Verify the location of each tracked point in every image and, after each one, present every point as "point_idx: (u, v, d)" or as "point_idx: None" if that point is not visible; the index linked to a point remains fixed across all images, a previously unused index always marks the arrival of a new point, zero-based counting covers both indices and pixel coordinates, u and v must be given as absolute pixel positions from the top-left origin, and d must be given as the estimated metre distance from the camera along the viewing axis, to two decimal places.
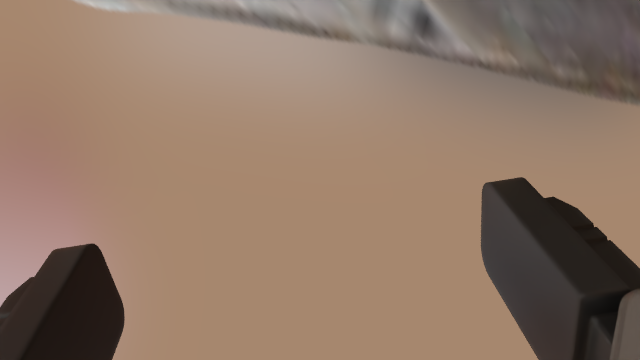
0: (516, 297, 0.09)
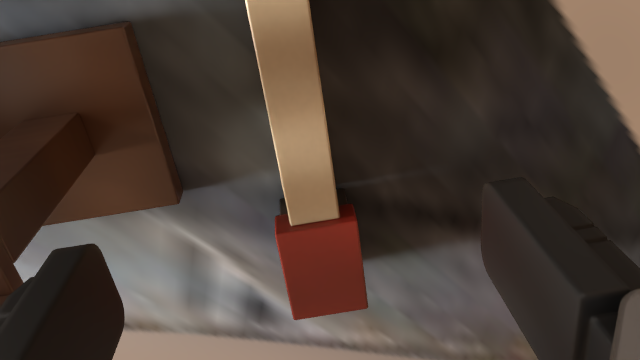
0: (516, 297, 0.09)
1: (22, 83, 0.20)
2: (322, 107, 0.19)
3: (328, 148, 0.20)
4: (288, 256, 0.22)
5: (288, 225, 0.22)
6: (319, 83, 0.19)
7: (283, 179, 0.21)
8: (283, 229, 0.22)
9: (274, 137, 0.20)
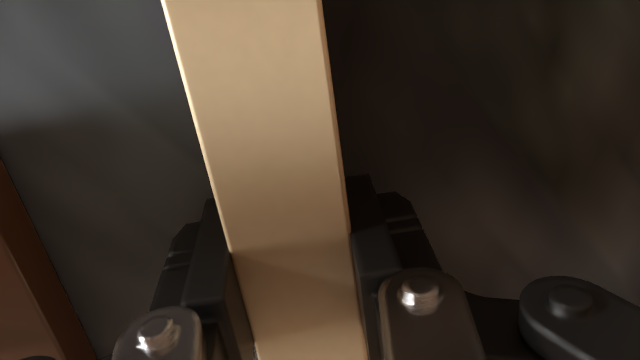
0: None
1: None
2: (358, 316, 0.10)
3: None
4: None
5: None
6: (354, 276, 0.09)
7: None
8: None
9: None
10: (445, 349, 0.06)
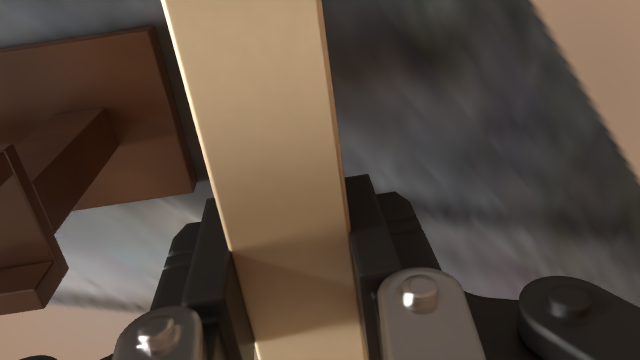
0: None
1: (56, 79, 0.22)
2: (358, 316, 0.10)
3: None
4: None
5: None
6: (354, 276, 0.09)
7: None
8: None
9: None
10: (445, 350, 0.06)
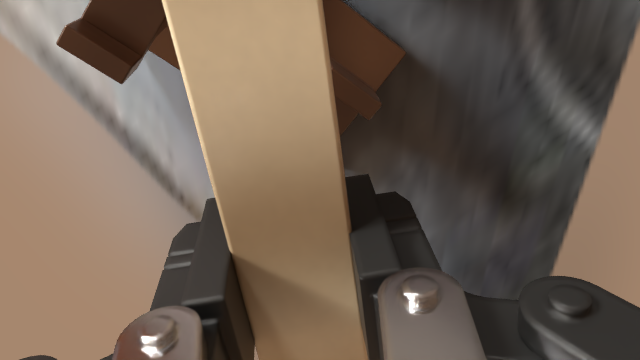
0: None
1: None
2: (359, 317, 0.10)
3: None
4: None
5: None
6: None
7: None
8: None
9: None
10: (446, 350, 0.06)
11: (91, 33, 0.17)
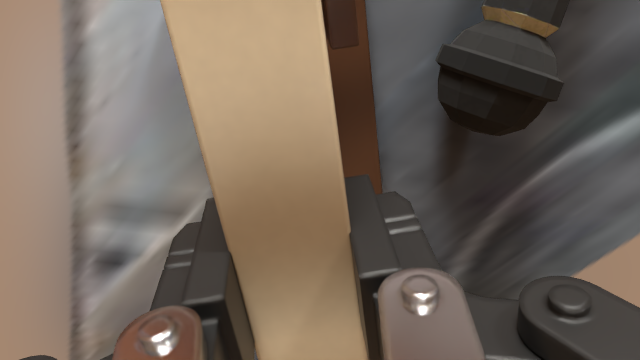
0: None
1: (346, 127, 0.25)
2: (358, 318, 0.10)
3: None
4: None
5: None
6: (354, 278, 0.09)
7: None
8: None
9: None
10: (445, 350, 0.06)
11: None
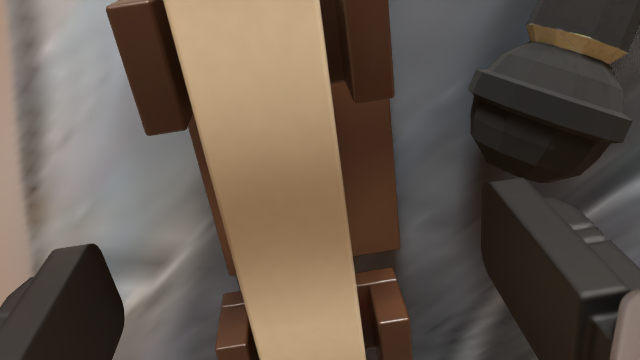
0: (516, 297, 0.09)
1: (358, 168, 0.21)
2: (355, 308, 0.10)
3: None
4: None
5: None
6: (351, 268, 0.09)
7: None
8: None
9: (261, 357, 0.10)
10: None
11: (168, 33, 0.09)
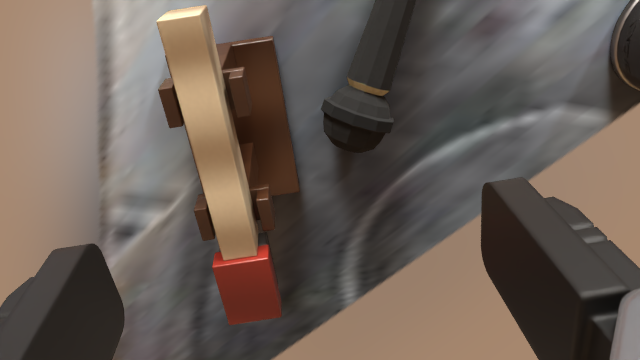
0: (516, 297, 0.09)
1: (273, 147, 0.41)
2: (239, 185, 0.30)
3: (245, 210, 0.30)
4: (222, 282, 0.32)
5: (222, 260, 0.32)
6: (236, 171, 0.29)
7: (216, 230, 0.31)
8: (218, 263, 0.32)
9: (208, 204, 0.30)
10: None
11: None
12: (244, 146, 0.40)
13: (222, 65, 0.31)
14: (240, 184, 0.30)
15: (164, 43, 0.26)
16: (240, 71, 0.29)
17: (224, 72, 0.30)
